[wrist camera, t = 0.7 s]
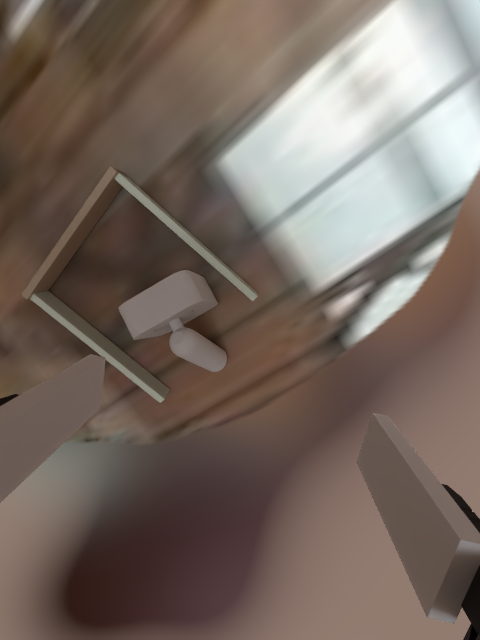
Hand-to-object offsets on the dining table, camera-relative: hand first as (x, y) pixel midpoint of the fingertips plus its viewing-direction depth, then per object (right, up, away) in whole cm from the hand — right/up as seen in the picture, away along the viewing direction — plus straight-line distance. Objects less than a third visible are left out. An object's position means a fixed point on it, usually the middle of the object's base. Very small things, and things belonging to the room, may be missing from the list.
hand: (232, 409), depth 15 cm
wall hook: (-5, +4, +23) cm, 24 cm away
